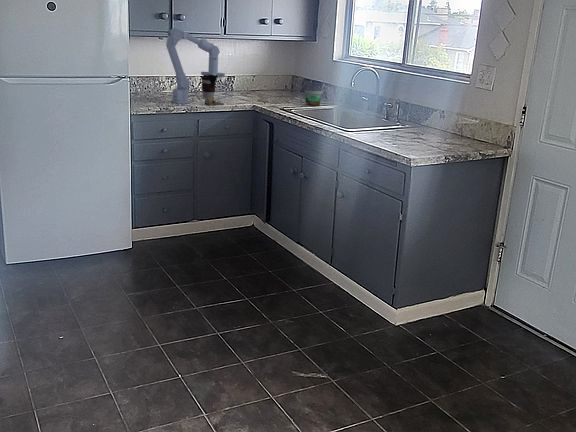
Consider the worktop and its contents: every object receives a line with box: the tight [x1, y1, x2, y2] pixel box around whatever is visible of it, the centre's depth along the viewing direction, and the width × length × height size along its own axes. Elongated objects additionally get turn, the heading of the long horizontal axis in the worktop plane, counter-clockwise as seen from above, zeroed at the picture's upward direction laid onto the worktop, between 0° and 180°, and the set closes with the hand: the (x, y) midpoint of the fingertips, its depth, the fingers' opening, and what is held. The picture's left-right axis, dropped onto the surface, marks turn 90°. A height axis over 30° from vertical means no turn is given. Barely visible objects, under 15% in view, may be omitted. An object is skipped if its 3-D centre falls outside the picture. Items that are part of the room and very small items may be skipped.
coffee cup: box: [200, 74, 218, 99], centre depth 421 cm, size 10×10×15 cm
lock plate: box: [203, 98, 225, 107], centre depth 400 cm, size 11×6×4 cm, turn 131°
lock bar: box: [206, 97, 217, 102], centre depth 399 cm, size 6×2×2 cm, turn 119°
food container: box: [303, 89, 323, 107], centre depth 421 cm, size 12×6×10 cm, turn 105°
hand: (212, 87), depth 404 cm, fingers closed
